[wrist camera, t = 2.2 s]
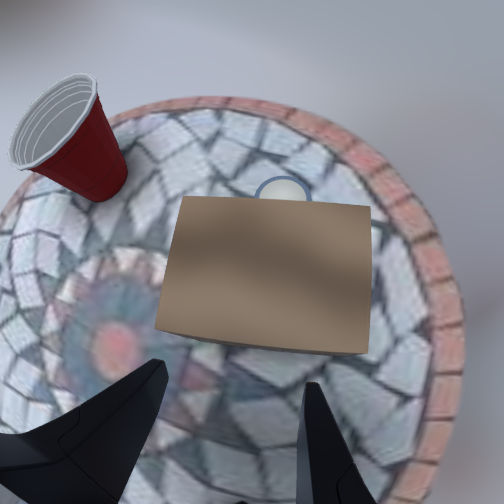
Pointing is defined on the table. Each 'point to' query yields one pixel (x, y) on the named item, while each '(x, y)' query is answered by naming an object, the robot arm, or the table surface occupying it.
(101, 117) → the plastic cup
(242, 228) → the brown box
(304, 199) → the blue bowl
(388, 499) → the table surface
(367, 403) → the table surface
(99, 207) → the table surface
